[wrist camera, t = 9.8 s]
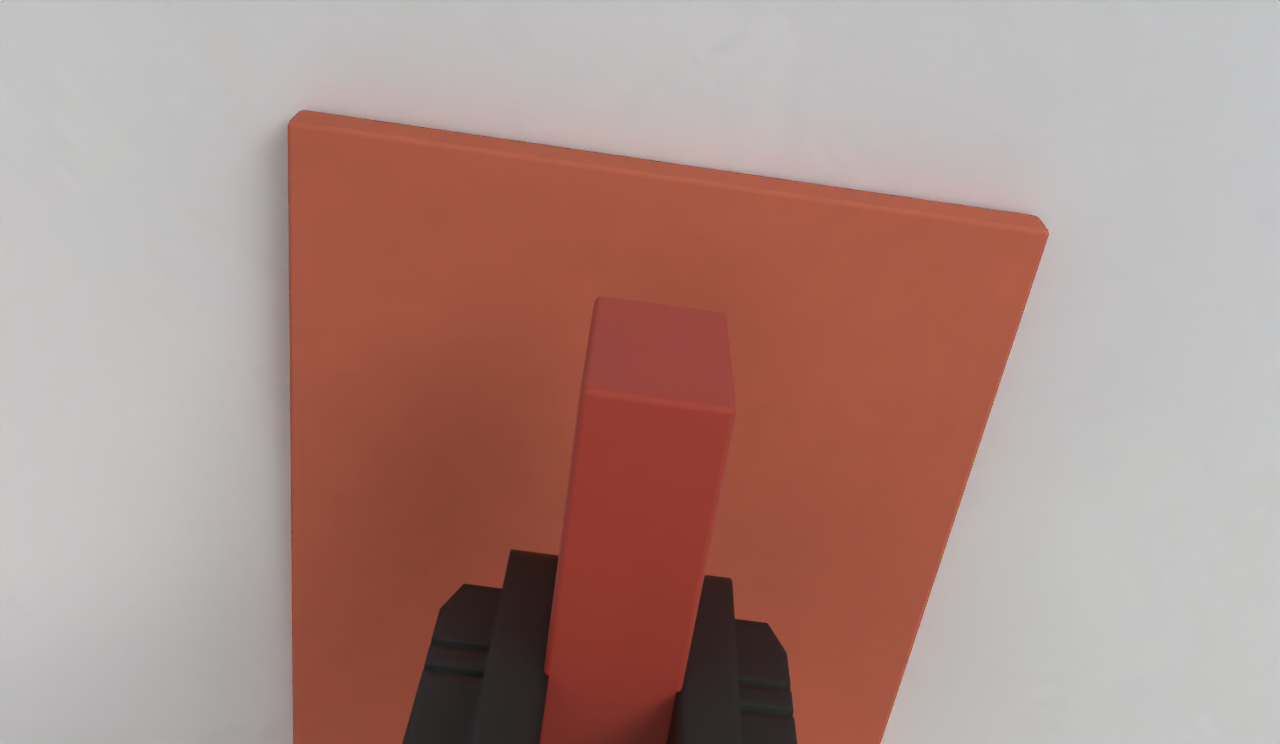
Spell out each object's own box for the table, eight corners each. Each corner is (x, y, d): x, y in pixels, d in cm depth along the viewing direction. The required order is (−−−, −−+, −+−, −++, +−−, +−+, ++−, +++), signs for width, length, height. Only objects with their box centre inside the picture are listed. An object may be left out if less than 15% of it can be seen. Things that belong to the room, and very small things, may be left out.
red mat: (300, 107, 15) (285, 121, 15) (1039, 215, 16) (1052, 231, 15) (302, 828, 22) (292, 854, 21) (820, 891, 22) (824, 918, 22)
